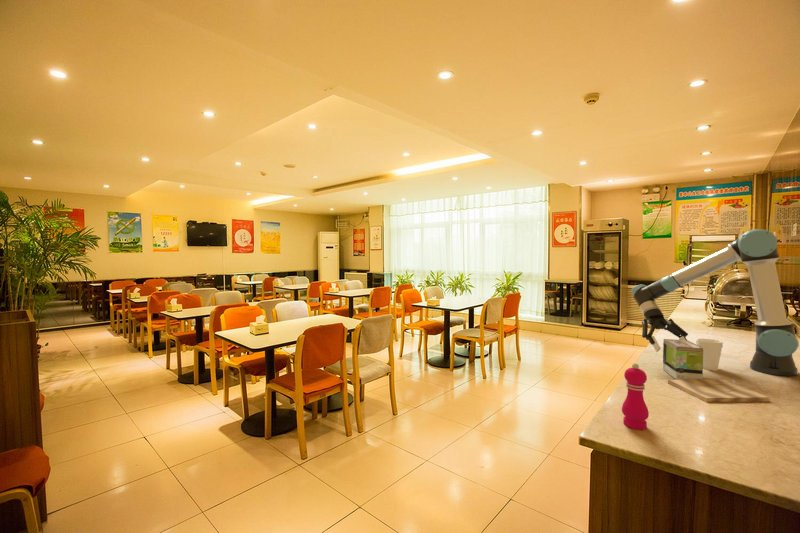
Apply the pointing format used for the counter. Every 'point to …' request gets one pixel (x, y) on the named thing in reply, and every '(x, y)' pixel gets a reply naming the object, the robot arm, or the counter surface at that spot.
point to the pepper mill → (635, 399)
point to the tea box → (682, 359)
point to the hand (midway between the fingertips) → (673, 350)
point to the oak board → (718, 390)
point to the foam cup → (710, 352)
